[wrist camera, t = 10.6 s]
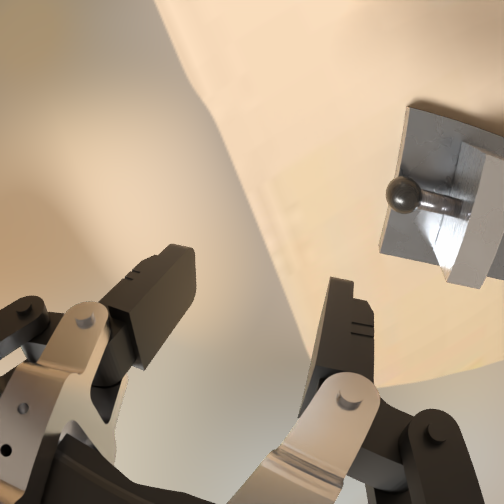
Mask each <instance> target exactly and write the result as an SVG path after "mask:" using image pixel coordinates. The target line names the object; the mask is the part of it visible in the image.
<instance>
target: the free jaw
mask: <svg viewBox="0 0 504 504" xmlns="http://www.w3.org/2000/svg"><path fill="white" fill-rule="evenodd" d="M386 199H387V202H388V204H389V206H390V207H391V208H392V209H393V210H394V211H396V212H398V213H400V214H409V213H412V212H414V211H415V210H416V209H421V210H425V211H430V212H434V213H438V214H442V215H444V218H443V221H442V224H441V227H440V231H439V234H438V237H437V240H436V243H435V246H434V249H433V250H434V252H435V254H436V257H437V259H438V262H439V264H440V267H441V269H442V272H443V274H444V277H445V280H446V282H448V283H453V284H458V285H462V286H467V287H472V288H477V289H480V288H481V285H483V283H484V281H485V278H486V276H487V274H488V272H489V269H490V267H491V264H492V262H493V260H494V257H495V255H496V252H497V250H498V247H499V244H500V242H501V239H502V236H503V233H504V157H502V156H500V155H499V154H497V153H495V152H493V151H490V150H487V149H484V148H481V147H478V146H475V145H472V144H469V143H466V142H463V141H462V144H461V149H460V154H459V158H458V163H457V168H456V172H455V176H454V180H453V184H452V188H451V192H450V196H447V195H443V194H439V193H436V192H432V191H428V190H424V189H420V186H419V185H418V183H417V182H416V181H415V180H413V179H412V178H410V177H406V176H400V177H397V178H395V179H393V180H392V181H391V182H390V183H389V185H388V187H387V189H386Z"/></svg>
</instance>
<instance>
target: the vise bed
mask: <svg viewBox="0 0 504 504" xmlns="http://www.w3.org/2000/svg"><path fill="white" fill-rule="evenodd" d="M462 141H463V142H466V143H469V144H472V145H475V146H478V147H481V148H484V149H487V150H490V151H493V152H495V153H497V154H499V155H500V156H502V157H504V137H501V136H499V135H496V134H493V133H491V132H488V131H485V130H483V129H480V128H477V127H474V126H471V125H468V124H465V123H462V122H459V121H456V120H453V119H450V118H447V117H443V116H440V115H436V114H433V113H429V112H426V111H422V110H418V109H414V108H410V107H406V113H405V120H404V127H403V133H402V140H401V145H400V151H399V157H398V162H397V167H396V172H395V177H394V179H395V178H397V177H400V176H406V177H410V178H412V179H413V180H415V181H416V182H417V183H418V185H419V186H420V189H424V190H428V191H432V192H436V193H439V194H443V195H447V196H450V192H451V188H452V184H453V180H454V176H455V172H456V168H457V163H458V158H459V154H460V149H461V144H462ZM443 218H444V215H442V214H438V213H434V212H430V211H425V210H421V209H416V210H415V211H414V212H412V213H409V214H400V213H398V212H396V211H394V210H393V209H392V208H391V207H390V206H389V205H388V209H387V214H386V218H385V222H384V226H383V230H382V234H381V238H380V242H379V251H380V253H382V254H387V255H392V256H397V257H401V258H406V259H411V260H415V261H420V262H425V263H429V264H434V265H439V266H440V264H439V262H438V259H437V257H436V254H435V252H434V250H433V249H434V246H435V243H436V240H437V237H438V234H439V231H440V227H441V224H442V221H443ZM487 277H492V278H496V279H500V280H504V233H503V236H502V239H501V242H500V244H499V247H498V250H497V252H496V255H495V257H494V260H493V262H492V264H491V267H490V269H489V272H488V274H487Z"/></svg>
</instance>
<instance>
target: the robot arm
mask: <svg viewBox="0 0 504 504" xmlns="http://www.w3.org/2000/svg"><path fill="white" fill-rule="evenodd" d="M353 288H354V282H353V281H349V280H344V279H339V278H334V277H330V280H329V284H328V289H327V293H326V297H325V301H324V305H323V309H322V313H321V317H320V322H319V326H318V330H317V335H316V340H315V345H314V350H313V354H312V359H311V364H310V368H309V373H308V377H307V382H306V386H305V391H304V395H303V398H302V403H301V406H300V410H299V414H298V418H299V420H298V421H297V423H296V424H295V426H294V427H293V428H292V430H291V431H290V433H289V434H288V435H287V437H286V438H285V439H284V441H283V442H282V444H281V445H280V446H279V447H278V448H277V449H276V450H273V451H271V452H270V453H269V454H268V455H267V456H266V457H265V459H264V460H263V461H262V462H261V463H260V465H259V466H258V467H257V469H256V470H255V471H254V472H253V473H252V475H251V476H250V477H249V478H248V479H247V480H246V482H245V483H244V484H243V485H242V486H241V488H240V489H239V490H238V491H237V492H236V493H235V495H234V496H233V497H232V498H231V499H230V500H229V501H228V502H227V504H334V502H335V501H336V499H337V497H338V495H339V493H340V491H341V489H342V487H343V480H344V478H345V476H346V475H347V476H350V477H352V478H354V479H356V480H358V481H360V482H363V483H365V487H366V492H367V498H368V504H485V503H484V499H483V496H482V493H481V489H480V486H479V483H478V479H477V476H476V473H475V470H474V467H473V464H472V461H471V458H470V455H469V452H468V450H467V447H466V444H465V441H464V439H463V436H462V433H461V431H460V428H459V426H458V424H457V423H456V421H455V420H454V419H453V418H452V417H451V416H450V415H449V414H447V413H446V412H444V411H441V410H437V409H426V410H423V411H421V412H419V413H418V414H416V415H415V416H411V415H409V414H407V413H405V412H402V411H400V410H398V409H395V408H393V407H391V406H390V405H388V404H387V403H386V402H385V401H384V400H383V399H382V398H381V397H380V395H379V392H378V390H377V388H376V386H375V385H374V313H373V311H372V309H371V307H370V305H369V304H368V302H367V301H365V300H360V299H355V298H353ZM195 293H196V269H195V252H194V250H193V248H190V247H186V246H181V245H176V244H170V245H169V246H167V247H166V248H165V249H164V250H163V251H162V252H161V253H160V254H159V255H154V256H151V257H150V258H147V259H145V260H143V261H141V262H140V263H139V264H138V265H137V266H136V267H135V268H134V269H132V272H129V273H128V274H127V275H126V276H125V279H122V280H121V281H120V282H119V283H118V284H117V285H116V286H115V287H113V288H112V289H111V290H110V291H109V292H108V293H107V294H106V295H105V296H104V297H103V298H102V299H101V300H100V301H99V302H93V301H88V302H82V303H79V304H76V305H74V306H72V307H71V308H70V309H68V310H67V311H66V313H65V314H64V313H54V312H47V309H46V306H45V304H44V301H43V300H42V299H41V298H40V297H38V296H26V297H23V298H20V299H18V300H16V301H15V302H13V303H11V304H10V305H8V306H6V307H5V308H3V309H1V310H0V360H1V359H2V358H4V357H5V356H7V355H8V354H10V353H11V352H13V351H14V350H16V349H17V348H19V347H21V349H22V351H23V352H24V354H25V356H26V358H27V359H26V360H25V361H23V362H22V363H20V364H19V365H17V366H16V367H15V368H13V369H12V370H10V371H9V372H7V373H6V374H4V375H3V376H1V377H0V504H215V503H212V502H209V501H206V500H203V499H200V498H197V497H195V496H192V495H189V494H187V493H183V492H177V491H171V490H165V489H160V488H155V487H149V486H145V485H140V484H136V483H134V482H132V481H130V480H129V479H128V478H127V477H125V476H124V475H123V474H122V473H121V472H120V471H119V470H118V469H116V468H115V467H114V462H115V457H116V441H115V427H116V423H117V420H118V416H119V412H120V408H121V405H122V401H123V398H124V394H125V391H126V387H127V384H128V374H127V372H128V370H129V369H130V368H131V366H134V367H136V368H139V369H141V370H145V369H146V368H147V366H148V364H149V363H150V362H151V360H152V359H153V358H154V356H155V355H156V353H157V352H158V351H159V349H160V348H161V346H162V345H163V343H164V342H165V341H166V339H167V338H168V336H169V335H170V334H171V332H172V331H173V329H174V328H175V326H176V325H177V323H178V322H179V321H180V319H181V318H182V317H183V315H184V314H185V312H186V311H187V310H188V308H189V307H190V305H191V304H192V302H193V300H194V297H195Z"/></svg>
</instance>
